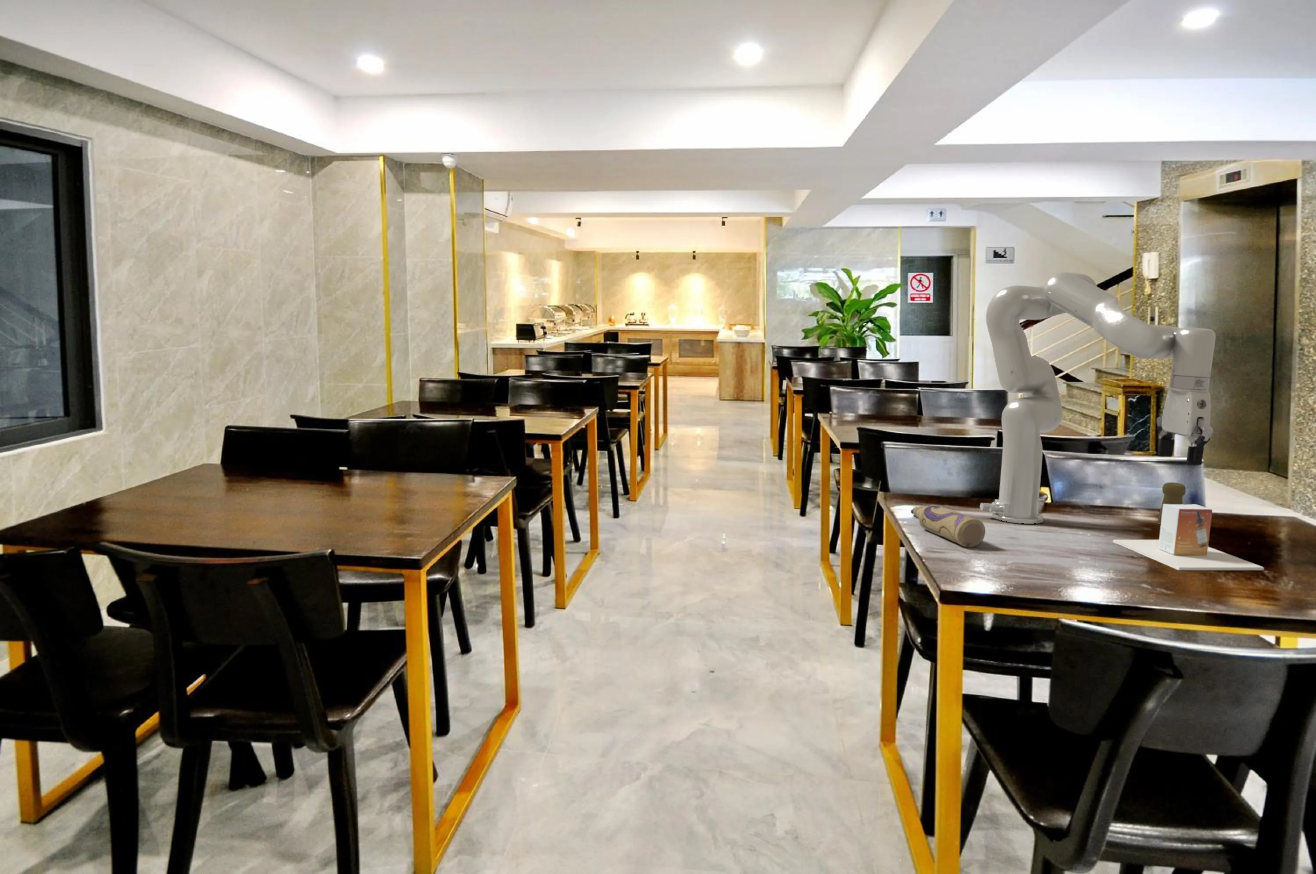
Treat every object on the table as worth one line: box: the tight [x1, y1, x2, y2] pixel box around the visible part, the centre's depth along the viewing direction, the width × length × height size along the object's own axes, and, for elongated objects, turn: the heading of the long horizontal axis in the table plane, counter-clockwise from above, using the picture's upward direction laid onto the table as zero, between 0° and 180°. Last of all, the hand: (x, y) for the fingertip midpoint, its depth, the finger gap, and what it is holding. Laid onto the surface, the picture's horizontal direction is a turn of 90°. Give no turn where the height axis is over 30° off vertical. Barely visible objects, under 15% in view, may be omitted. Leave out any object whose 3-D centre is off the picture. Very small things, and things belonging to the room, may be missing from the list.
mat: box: [1112, 539, 1265, 571], centre depth 196 cm, size 19×23×1 cm
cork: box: [1156, 481, 1187, 524], centre depth 226 cm, size 6×6×11 cm
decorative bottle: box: [910, 504, 986, 548], centre depth 211 cm, size 26×8×7 cm, turn 13°
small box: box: [1158, 503, 1213, 556], centre depth 196 cm, size 8×6×10 cm
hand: (1179, 460), depth 197 cm, fingers open, 9 cm apart
